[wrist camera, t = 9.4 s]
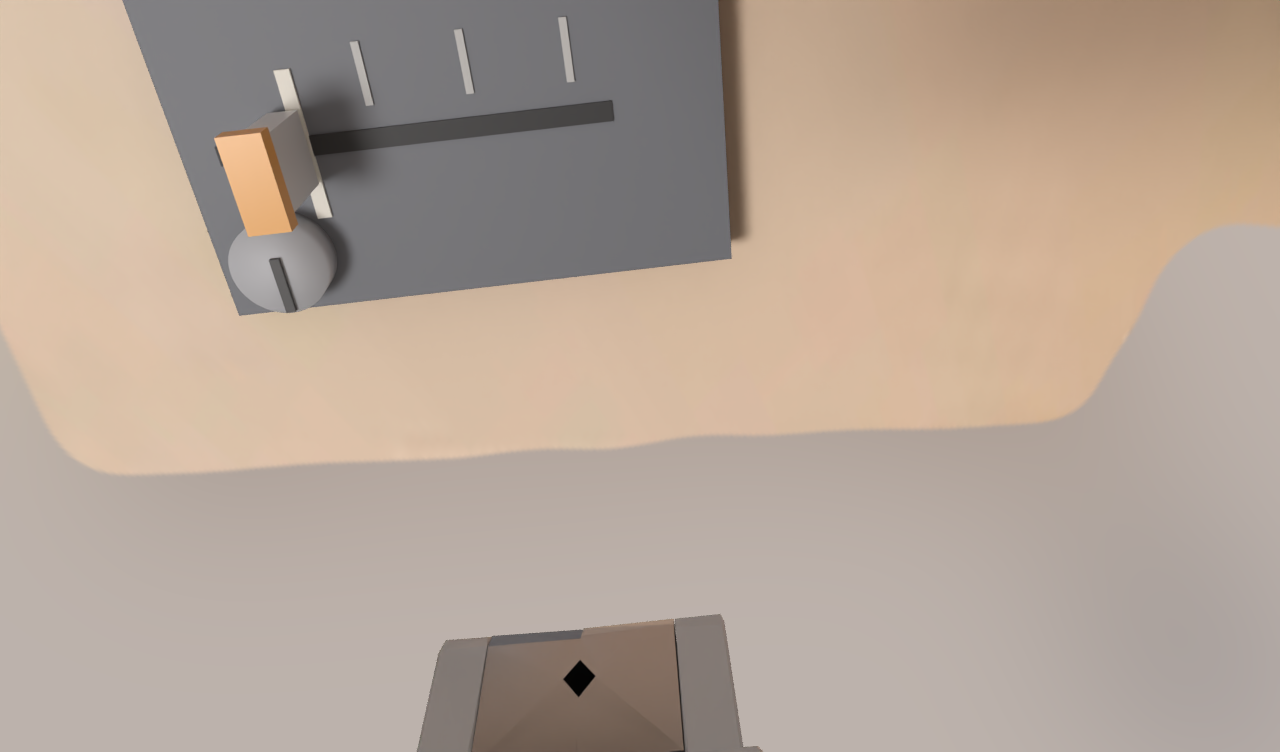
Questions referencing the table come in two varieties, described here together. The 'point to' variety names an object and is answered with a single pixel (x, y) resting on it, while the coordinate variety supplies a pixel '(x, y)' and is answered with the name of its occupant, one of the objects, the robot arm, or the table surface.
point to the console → (452, 138)
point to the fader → (268, 171)
